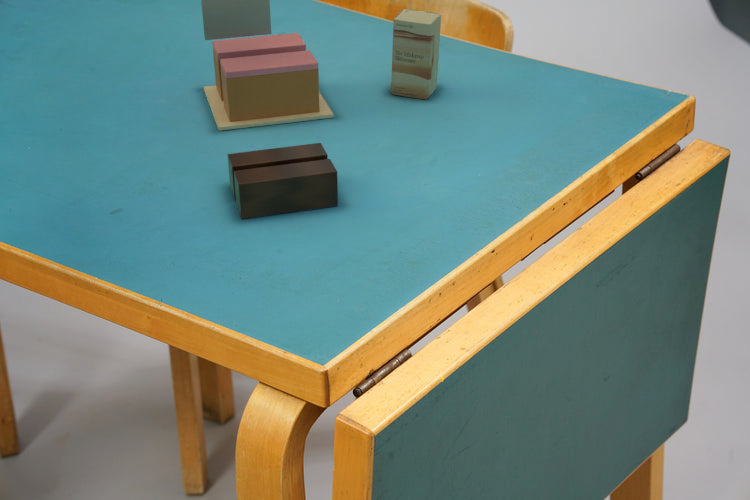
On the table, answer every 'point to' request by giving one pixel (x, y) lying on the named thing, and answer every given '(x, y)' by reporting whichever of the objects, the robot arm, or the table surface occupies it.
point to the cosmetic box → (415, 53)
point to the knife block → (282, 180)
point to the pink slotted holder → (264, 82)
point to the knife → (235, 18)
